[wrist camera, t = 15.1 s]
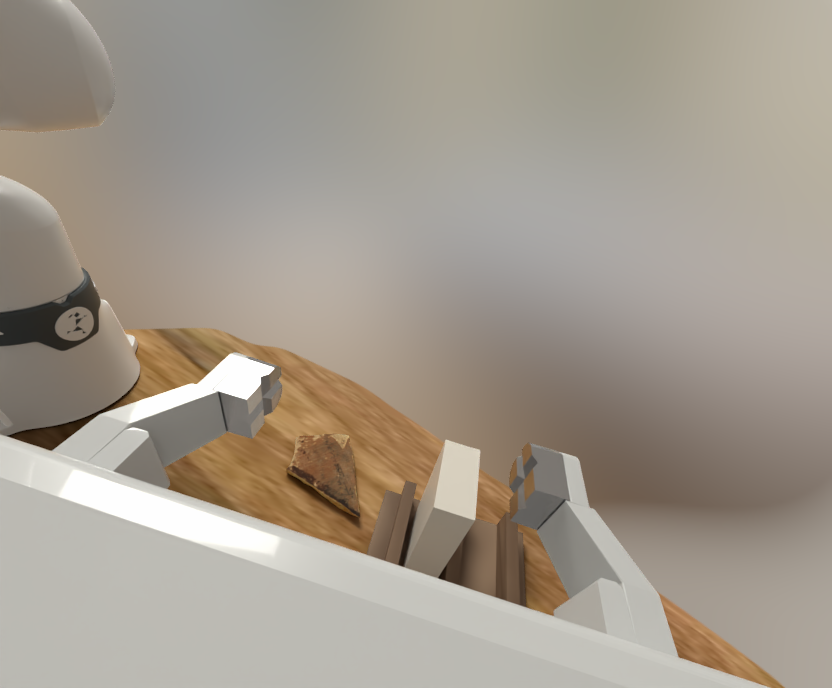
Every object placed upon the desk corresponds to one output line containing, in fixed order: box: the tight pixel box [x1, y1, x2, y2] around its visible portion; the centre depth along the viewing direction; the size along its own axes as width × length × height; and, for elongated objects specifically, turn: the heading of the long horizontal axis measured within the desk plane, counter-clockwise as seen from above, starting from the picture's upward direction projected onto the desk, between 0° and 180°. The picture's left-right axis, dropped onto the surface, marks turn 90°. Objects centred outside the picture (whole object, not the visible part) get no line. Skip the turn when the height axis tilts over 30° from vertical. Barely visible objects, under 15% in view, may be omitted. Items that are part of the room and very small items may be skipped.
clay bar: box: [403, 440, 480, 578], centre depth 30 cm, size 3×6×14 cm, turn 167°
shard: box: [286, 434, 360, 517], centre depth 39 cm, size 11×8×2 cm
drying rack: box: [367, 481, 526, 607], centre depth 34 cm, size 16×9×4 cm, turn 77°
